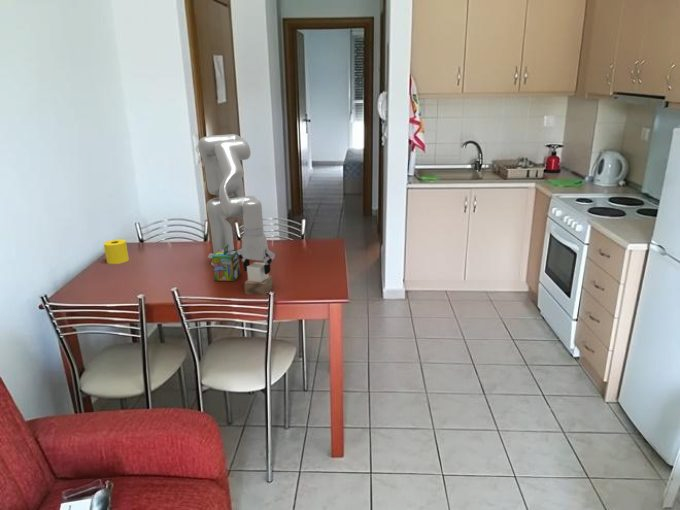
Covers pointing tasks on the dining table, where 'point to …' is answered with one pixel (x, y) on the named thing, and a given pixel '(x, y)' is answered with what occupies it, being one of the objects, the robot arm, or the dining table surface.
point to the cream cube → (256, 272)
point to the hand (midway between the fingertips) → (257, 271)
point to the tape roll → (116, 251)
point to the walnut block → (258, 286)
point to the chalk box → (226, 265)
